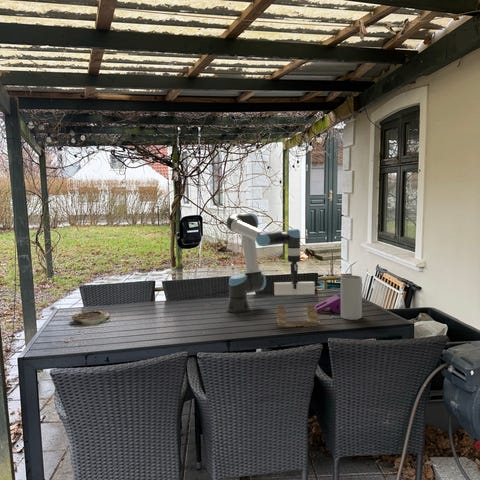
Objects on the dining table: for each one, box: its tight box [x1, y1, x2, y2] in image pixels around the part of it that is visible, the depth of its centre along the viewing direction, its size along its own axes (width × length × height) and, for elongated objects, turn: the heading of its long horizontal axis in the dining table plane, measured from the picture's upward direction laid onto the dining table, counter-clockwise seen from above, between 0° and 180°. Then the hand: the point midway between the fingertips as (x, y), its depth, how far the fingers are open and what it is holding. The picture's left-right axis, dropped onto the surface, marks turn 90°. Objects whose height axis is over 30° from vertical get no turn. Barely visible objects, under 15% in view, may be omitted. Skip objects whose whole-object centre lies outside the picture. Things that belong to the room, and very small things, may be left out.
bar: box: [273, 281, 320, 296], centre depth 258 cm, size 4×27×7 cm, turn 91°
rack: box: [276, 304, 318, 328], centre depth 250 cm, size 10×22×10 cm, turn 91°
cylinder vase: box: [340, 274, 363, 321], centre depth 260 cm, size 12×12×25 cm
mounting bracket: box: [314, 294, 341, 314], centre depth 277 cm, size 9×8×18 cm
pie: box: [71, 310, 111, 328], centre depth 269 cm, size 28×27×5 cm
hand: (294, 293), depth 258 cm, fingers closed on bar, 4 cm apart
